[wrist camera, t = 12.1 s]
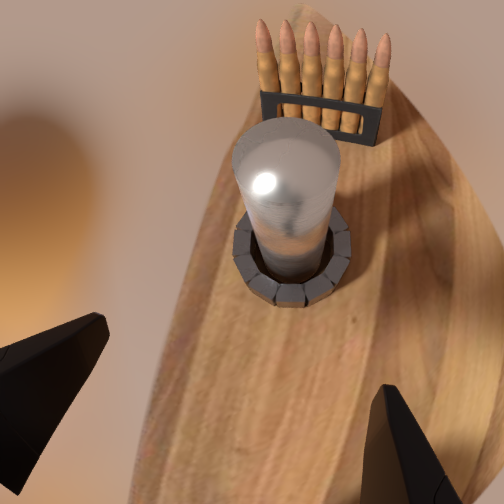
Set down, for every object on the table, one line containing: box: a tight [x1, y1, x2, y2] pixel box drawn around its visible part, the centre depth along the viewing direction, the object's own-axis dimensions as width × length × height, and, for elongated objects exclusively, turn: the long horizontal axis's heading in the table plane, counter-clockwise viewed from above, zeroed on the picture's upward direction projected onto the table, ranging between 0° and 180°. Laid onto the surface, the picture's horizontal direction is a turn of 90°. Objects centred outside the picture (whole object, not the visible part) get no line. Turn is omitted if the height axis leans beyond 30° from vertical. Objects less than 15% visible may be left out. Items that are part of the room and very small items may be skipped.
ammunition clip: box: [256, 19, 391, 147], centre depth 22 cm, size 11×2×12 cm, turn 76°
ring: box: [232, 206, 351, 308], centre depth 23 cm, size 8×8×2 cm
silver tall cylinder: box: [232, 117, 340, 284], centre depth 18 cm, size 4×4×12 cm
